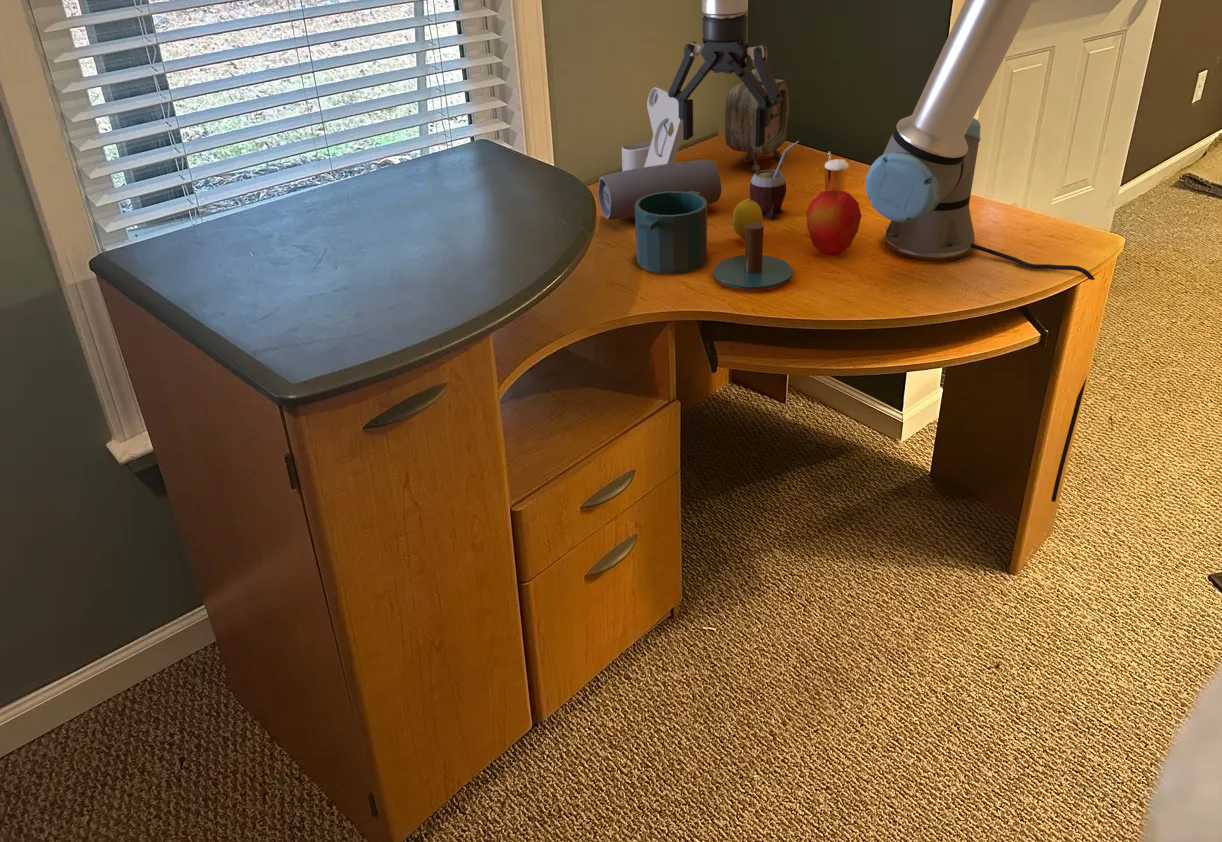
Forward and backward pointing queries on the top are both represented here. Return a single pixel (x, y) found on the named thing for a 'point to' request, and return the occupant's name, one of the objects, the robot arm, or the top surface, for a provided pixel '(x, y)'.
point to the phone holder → (656, 134)
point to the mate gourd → (769, 188)
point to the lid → (753, 265)
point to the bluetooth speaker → (656, 185)
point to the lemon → (746, 216)
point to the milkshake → (835, 174)
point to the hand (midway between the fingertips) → (723, 141)
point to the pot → (671, 231)
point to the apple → (833, 221)
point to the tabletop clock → (744, 120)
